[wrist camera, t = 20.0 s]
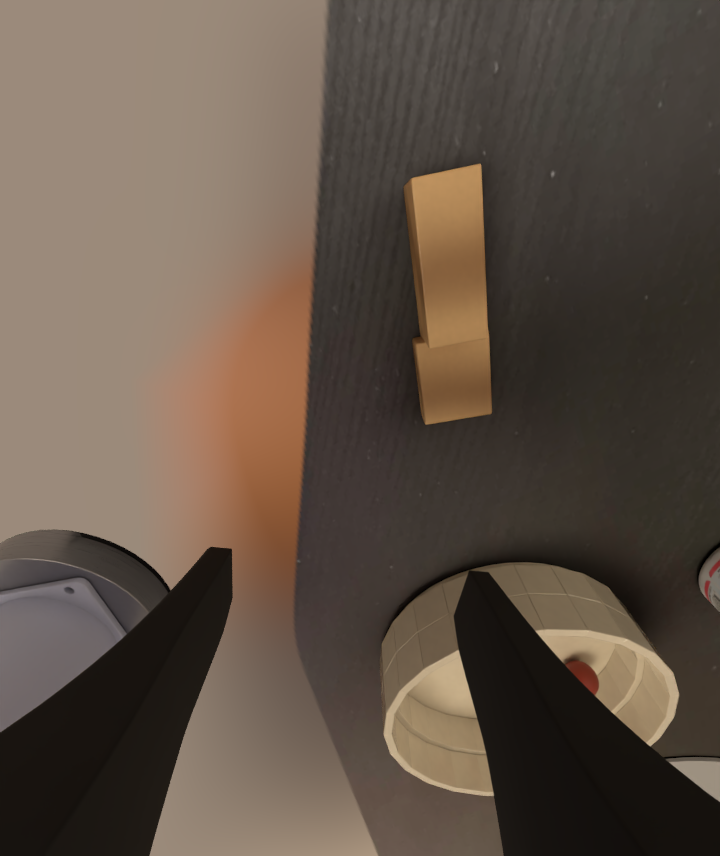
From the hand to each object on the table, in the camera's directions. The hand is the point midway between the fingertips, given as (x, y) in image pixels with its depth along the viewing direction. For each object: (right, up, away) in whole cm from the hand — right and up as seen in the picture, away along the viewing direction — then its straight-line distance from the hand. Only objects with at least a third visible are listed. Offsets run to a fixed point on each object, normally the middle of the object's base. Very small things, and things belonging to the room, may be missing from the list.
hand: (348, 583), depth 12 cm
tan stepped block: (+4, +10, +6) cm, 12 cm away
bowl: (+10, -11, +16) cm, 22 cm away
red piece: (+15, -12, +15) cm, 25 cm away
